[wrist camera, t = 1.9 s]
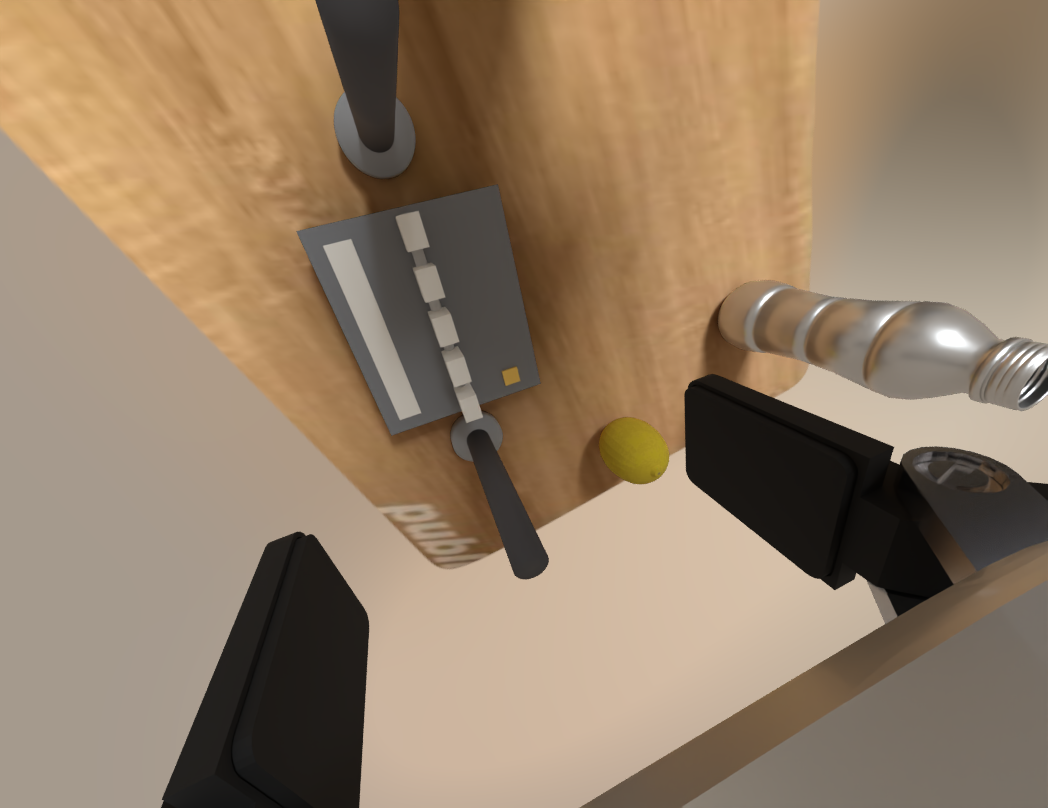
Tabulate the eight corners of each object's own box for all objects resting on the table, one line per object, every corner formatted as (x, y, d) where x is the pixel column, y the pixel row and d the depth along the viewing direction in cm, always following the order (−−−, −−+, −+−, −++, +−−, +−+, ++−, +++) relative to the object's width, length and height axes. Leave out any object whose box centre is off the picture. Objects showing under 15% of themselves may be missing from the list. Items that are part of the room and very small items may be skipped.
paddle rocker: (394, 216, 22) (395, 213, 19) (414, 211, 22) (417, 208, 19) (460, 408, 28) (467, 424, 25) (475, 402, 28) (483, 418, 26)
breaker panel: (306, 231, 23) (295, 231, 20) (486, 189, 25) (498, 184, 23) (391, 418, 30) (391, 436, 27) (528, 371, 32) (541, 384, 29)
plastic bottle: (757, 335, 39) (1052, 417, 21) (704, 349, 37) (974, 449, 20) (768, 271, 36) (1118, 306, 19) (710, 283, 34) (1034, 334, 17)
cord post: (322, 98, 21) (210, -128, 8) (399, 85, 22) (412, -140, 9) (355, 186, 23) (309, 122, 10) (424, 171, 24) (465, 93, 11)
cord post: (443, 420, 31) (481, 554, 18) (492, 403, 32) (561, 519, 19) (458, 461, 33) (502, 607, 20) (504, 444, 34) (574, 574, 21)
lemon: (590, 460, 38) (634, 510, 32) (581, 417, 36) (626, 460, 29) (636, 440, 39) (688, 484, 32) (630, 396, 37) (686, 434, 30)
